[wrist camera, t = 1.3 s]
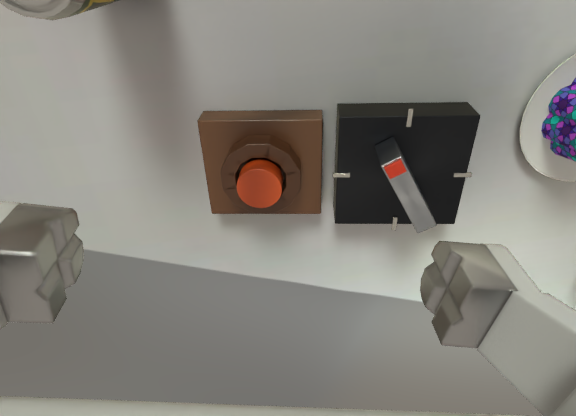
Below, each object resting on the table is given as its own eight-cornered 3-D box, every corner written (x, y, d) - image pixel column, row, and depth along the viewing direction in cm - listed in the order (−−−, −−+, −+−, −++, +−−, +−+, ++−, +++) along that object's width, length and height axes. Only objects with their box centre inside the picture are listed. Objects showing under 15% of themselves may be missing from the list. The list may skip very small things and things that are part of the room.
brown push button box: (321, 109, 34) (323, 128, 31) (320, 201, 39) (321, 225, 36) (203, 110, 34) (191, 129, 31) (216, 201, 39) (207, 225, 36)
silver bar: (426, 201, 35) (438, 227, 32) (408, 209, 35) (418, 235, 32) (393, 135, 32) (402, 157, 29) (374, 145, 32) (381, 167, 29)
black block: (473, 94, 33) (488, 108, 30) (447, 210, 39) (457, 230, 36) (333, 96, 33) (335, 110, 31) (329, 210, 39) (330, 230, 37)
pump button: (282, 158, 33) (281, 169, 31) (283, 197, 35) (282, 208, 33) (237, 158, 33) (234, 169, 31) (241, 196, 35) (238, 208, 33)
